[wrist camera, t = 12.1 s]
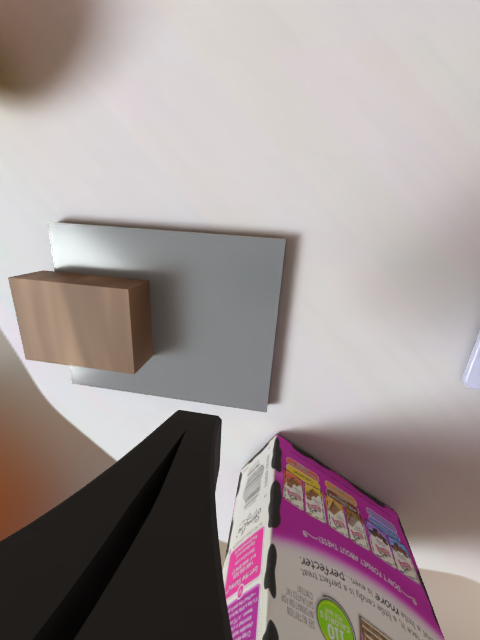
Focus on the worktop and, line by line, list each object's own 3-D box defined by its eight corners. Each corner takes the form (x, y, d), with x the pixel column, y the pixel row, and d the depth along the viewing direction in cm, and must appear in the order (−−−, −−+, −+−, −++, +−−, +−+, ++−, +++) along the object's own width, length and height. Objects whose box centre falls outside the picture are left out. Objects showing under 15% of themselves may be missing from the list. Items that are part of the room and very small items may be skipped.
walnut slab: (128, 289, 15) (8, 277, 16) (134, 374, 16) (25, 359, 17) (149, 280, 17) (43, 270, 18) (153, 355, 19) (56, 343, 19)
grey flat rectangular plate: (285, 238, 16) (285, 239, 15) (267, 405, 19) (266, 412, 19) (57, 222, 17) (47, 222, 17) (80, 377, 21) (72, 383, 20)
